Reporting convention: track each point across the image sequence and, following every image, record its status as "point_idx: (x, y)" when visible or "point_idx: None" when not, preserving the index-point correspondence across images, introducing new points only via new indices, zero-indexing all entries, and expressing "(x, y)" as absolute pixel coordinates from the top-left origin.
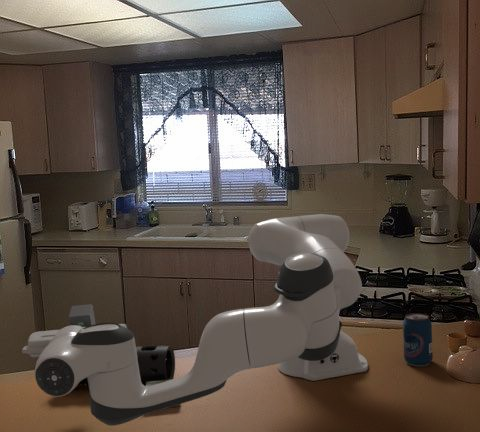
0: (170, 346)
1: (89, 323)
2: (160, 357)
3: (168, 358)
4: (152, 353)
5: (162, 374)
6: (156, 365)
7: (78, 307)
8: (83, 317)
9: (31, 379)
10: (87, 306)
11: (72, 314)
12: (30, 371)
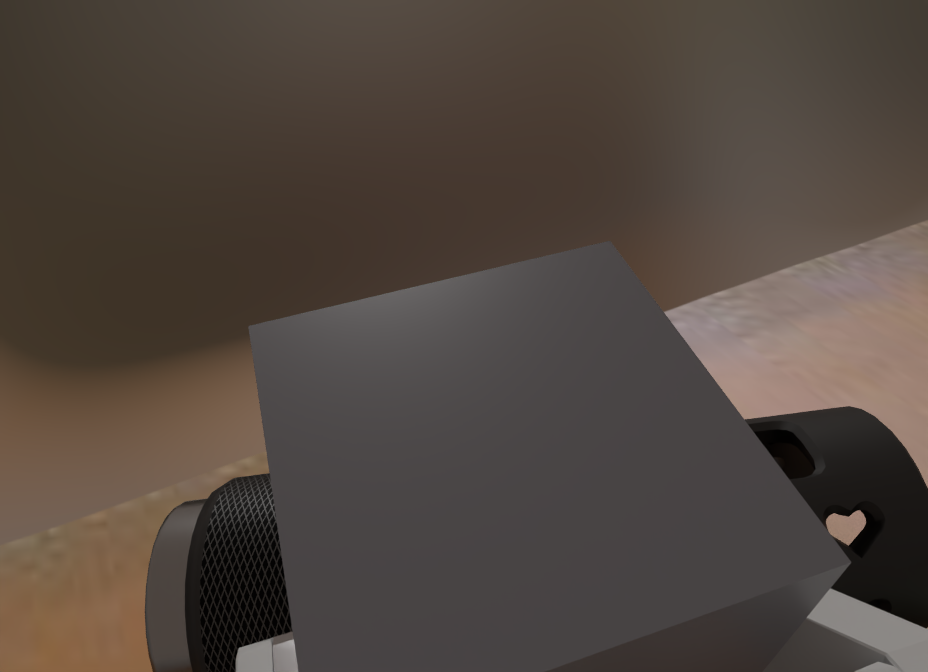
0: (872, 416)
1: (746, 665)
2: (903, 526)
3: (799, 460)
4: (830, 501)
5: (913, 622)
6: (885, 582)
7: (403, 349)
8: (685, 637)
9: (28, 620)
10: (563, 301)
11: (377, 608)
12: (20, 544)
